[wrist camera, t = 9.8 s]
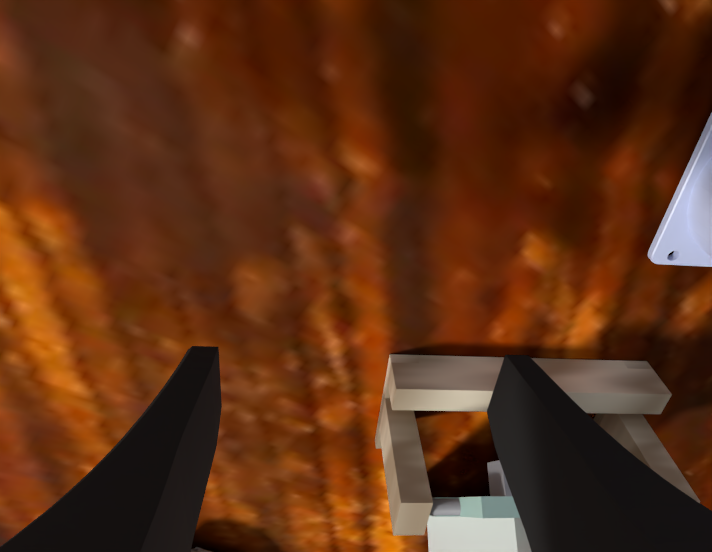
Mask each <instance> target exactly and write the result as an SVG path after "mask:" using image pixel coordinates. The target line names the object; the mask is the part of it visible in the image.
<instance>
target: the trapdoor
mask: <svg viewBox="0 0 712 552" xmlns="http://www.w3.org/2000/svg"><path fill="white" fill-rule="evenodd" d="M487 466H488V477H489V488H490V496H479V497H434V498H432V500H433V505H432V508H431V512H430V515H429V516H435V517H454V516H460V517H472V518H520V516H519V513H518V510H517V507H516V505H515V502H514V499H513V497H512V494H511V491H510V488H509V486H508V483H507V480H506V477H505V475H504V472H503V469H502V466H501V463H500V461H499V460H498V461H493V462H488V463H487Z"/></svg>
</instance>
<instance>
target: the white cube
mask: <svg viewBox="0 0 712 552" xmlns="http://www.w3.org/2000/svg"><path fill="white" fill-rule="evenodd" d="M427 527H428V547H429V552H531V548H530V545H529V542H528V539H527V536H526V532H525V529H524V527H523V524H522V521H521V518H472V517H460V516H454V517H435V516H429V519H428V522H427Z"/></svg>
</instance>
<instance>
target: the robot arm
mask: <svg viewBox="0 0 712 552" xmlns="http://www.w3.org/2000/svg"><path fill="white" fill-rule="evenodd" d="M672 251H674V252H673V253H672V254H671V255H670V256H668V255H669V253H671V252H672ZM648 258H649V259H650V260H651V261H652V262H653V263H655V264H664V265H685V266H706V267H712V112H711V115H710V117H709V119H708V121H707V123H706V126H705V128H704V130H703V132H702V134H701V137H700V139H699V141H698V143H697V145H696V148H695V150H694V152H693V154H692V156H691V159H690V161H689V163H688V165H687V167H686V170H685V172H684V174H683V176H682V178H681V181H680V183H679V185H678V187H677V189H676V192H675V194H674V196H673V198H672V200H671V202H670V205H669V207H668V209H667V211H666V213H665V216H664V218H663V220H662V222H661V224H660V227H659V229H658V231H657V233H656V235H655V238H654V240H653V242H652V244H651V246H650V249H649V251H648ZM221 407H222V406H221V387H220V368H219V350H218V347H204V346H192V347H191V348H190V349H188V351H187V352H186V354H185V356H184V357H183V359H182V361H181V362H180V364H179V365H178V367H177V368H176V370H175V371H174V373H173V374H172V376H171V377H170V379H169V380H168V381H167V383H166V384H165V386H164V387H163V388H162V390H161V391H160V392H159V394H158V395H157V396H156V398H155V399H154V400H153V402H152V403H151V404H150V406H149V407H148V408H147V409H146V411H145V412H144V413H143V414H142V416H141V417H140V418H139V419H138V420H137V422H136V423H135V424H134V425H133V426H132V427H131V429H130V430H129V431H128V432H127V433H126V434H125V436H124V437H123V438H122V439H121V440H120V441H119V442H118V443H117V445H116V446H115V447H114V448H113V449H112V450H111V451H110V452H109V453H108V454H107V455H106V456H105V457H104V458H103V459H102V460H101V461H100V462H99V463H98V464H97V465H96V466H95V467H94V468H93V469H92V470H91V471H90V472H89V473H88V474H87V475H86V476H85V477H84V478H83V479H82V480H81V481H80V482H78V483H77V484H76V485H75V486H74V487H73V488H72V489H71V490H70V491H69V492H68V493H66V494H65V495H64V496H63V497H62V498H61V499H60V500H59V501H57V502H56V503H55V504H54V505H53V506H52V507H50V508H49V509H48V510H47V511H46V512H44V513H43V514H42V515H40V516H39V517H38V518H37V519H35V520H34V521H33V522H32V523H30V524H29V525H28V526H27V527H25V528H24V529H23V530H21V531H20V532H19V533H18V534H16V535H15V536H14V537H13V538H11V539H10V540H9V541H7V542H6V543H5V544H3V545H2V546H1V547H0V552H191V548H192V543H193V538H194V534H195V529H196V525H197V521H198V517H199V513H200V509H201V505H202V501H203V498H204V494H205V490H206V486H207V482H208V478H209V474H210V470H211V466H212V461H213V457H214V453H215V449H216V445H217V437H218V430H219V423H220V415H221ZM487 414H488V419H489V423H490V428H491V433H492V437H493V441H494V446H495V449H496V452H497V455H498V458H499V461H500V463H501V466H502V469H503V472H504V475H505V477H506V480H507V483H508V486H509V488H510V491H511V494H512V497H513V499H514V502H515V505H516V507H517V510H518V513H519V516H520V518H521V521H522V524H523V527H524V529H525V532H526V536H527V539H528V542H529V545H530V548H531V552H712V511H711V510H709V509H708V508H706V507H705V506H703V505H702V504H700V503H699V502H697V501H696V500H694V499H693V498H691V497H690V496H688V495H687V494H685V493H684V492H682V491H681V490H679V489H678V488H676V487H675V486H674V485H672V484H671V483H669V482H668V481H667V480H665V479H664V478H663V477H661V476H660V475H659V474H657V473H656V472H655V471H653V470H652V469H651V468H649V467H648V466H647V465H646V464H644V463H643V462H642V461H640V460H639V459H638V458H637V457H635V456H634V455H633V454H632V453H630V452H629V451H628V450H627V449H626V448H624V447H623V446H622V445H621V444H620V443H619V442H618V441H616V440H615V439H614V438H613V437H612V436H611V435H610V434H608V433H607V432H606V431H605V430H604V429H603V428H602V427H601V426H599V425H598V424H597V423H596V422H595V421H594V420H593V419H592V418H591V417H590V416H589V415H588V414H587V413H586V412H585V411H584V410H582V409H581V408H580V407H579V406H578V405H577V404H576V403H575V402H574V401H573V400H572V399H571V398H570V397H569V396H568V395H567V394H566V393H565V392H564V391H563V390H562V389H561V388H560V387H559V386H558V385H557V384H556V383H555V382H554V381H553V380H552V379H551V378H550V377H549V376H548V375H547V374H546V373H545V372H544V370H543V369H542V368H541V367H540V366H539V365H538V364H537V363H536V362H534V361H533V360H532V359H531V358H530V357H529V356H528V355H505V357H504V360H503V363H502V366H501V369H500V372H499V375H498V378H497V381H496V385H495V388H494V391H493V394H492V397H491V400H490V403H489V406H488V409H487Z"/></svg>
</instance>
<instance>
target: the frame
mask: <svg viewBox="0 0 712 552" xmlns="http://www.w3.org/2000/svg"><path fill="white" fill-rule="evenodd" d="M531 359H532V360H533V361H534V362H536V363H537V364H538V365H539V366H540V367H541V368H542V369H543V370H544V372H545V373H546V374H547V375H548V376H549V377H550V378H551V379H552V380H553V381H554V382H555V383H556V384H557V385H558V386H559V387H560V388H561V389H562V390H563V391H564V392H565V393H566V394H567V395H568V396H569V397H570V398H571V399H572V400H573V401H574V402H575V403H576V404H577V405H578V406H579V407H580V408H581V409H582V410H584V411H585V412H586V413H596V415H595V417H594V419H593V420H594V421H595V422H596V423H597V424H598V425H599V426H601V427H602V428H603V429H604V430H605V431H606V432H607V433H608V434H610V435H611V436H612V437H613V438H614V439H615V440H616V441H618V442H619V443H620V444H621V445H622V446H623V447H624V448H626V449H627V450H628V451H629V452H630V453H632V454H633V455H634V456H635V457H637V458H638V459H639V460H640V461H642V462H643V463H644V464H646V465H647V466H648V467H649V468H651V469H652V470H653V471H655V472H656V473H657V474H659V475H660V476H661V477H663V478H664V479H665V480H667V481H668V482H669V483H671V484H672V485H674V486H675V487H676V488H678V489H679V490H681V491H682V492H684V493H685V494H687V495H688V496H690V497H691V498H693V499H694V500H696V501H697V502H699V503H700V501H699V499H698V498H697V496H696V495H695V493H694V491H693V490H692V488H691V487H690V485H689V484H688V482H687V481H686V479H685V478H684V476H683V475H682V473H681V472H680V470H679V469H678V467H677V466H676V464H675V463H674V461H673V460H672V458H671V457H670V455H669V454H668V452H667V451H666V449H665V448H664V446H663V445H662V443H661V442H660V440H659V439H658V437H657V436H656V434H655V433H654V431H653V430H652V428H651V427H650V425H649V424H648V422H647V421H646V419H645V418H644V416H643V415H642V414H661V413H662V411H663V409H664V407H665V406H666V404H667V402H668V401H669V399H670V397H671V395H672V394H671V392H670V391H669V390H668V388H667V387H666V386H665V384H664V383H663V382H662V380H661V379H660V378H659V377H658V375H657V374H656V373H655V371H654V370H653V369H652V367H651V366H650V365H649V363H648V362H647V361H621V360H584V359H546V358H531ZM503 360H504V357H472V356H435V355H398V354H390V356H389V362H388V367H387V373H386V379H385V385H384V390H383V396H382V402H381V408H380V413H379V419H378V425H377V431H376V436H375V444H376V448H382V455H383V462H384V469H385V477H386V484H387V492H388V499H389V507H390V514H391V522H392V529H393V535H424V533H425V529H426V526H427V522H428V519H429V515H430V512H431V508H432V505H433V500H432V495H431V491H430V486H429V481H428V476H427V471H426V467H425V462H424V457H423V452H422V447H421V443H420V438H419V433H418V428H417V423H416V419H415V414H414V410H417V411H483V412H487V409H488V406H489V403H490V400H491V397H492V394H493V391H494V388H495V385H496V381H497V378H498V375H499V372H500V369H501V366H502V363H503Z"/></svg>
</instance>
